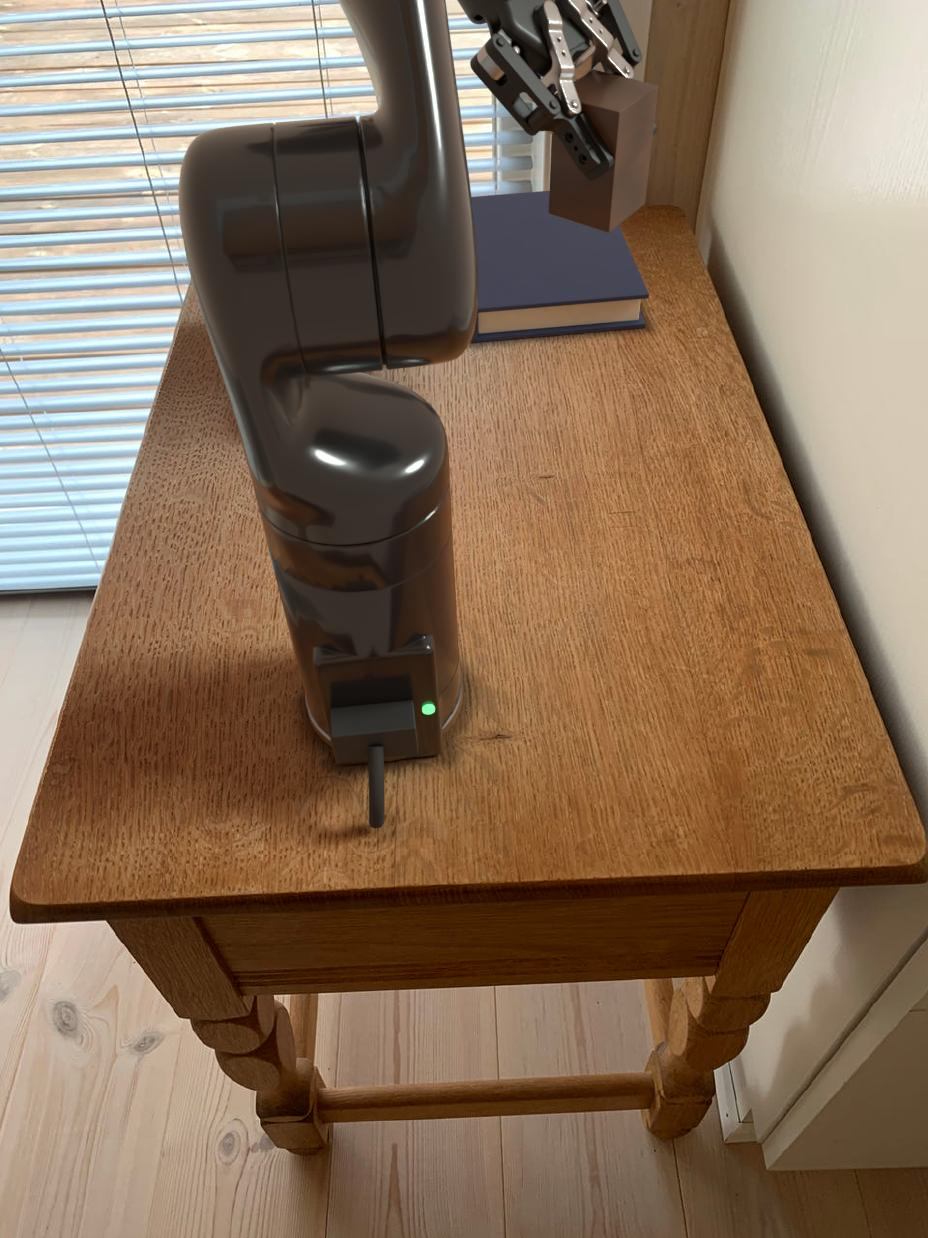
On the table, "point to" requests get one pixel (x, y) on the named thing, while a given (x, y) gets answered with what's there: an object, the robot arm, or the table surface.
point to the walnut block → (628, 135)
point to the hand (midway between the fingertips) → (625, 155)
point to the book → (549, 272)
